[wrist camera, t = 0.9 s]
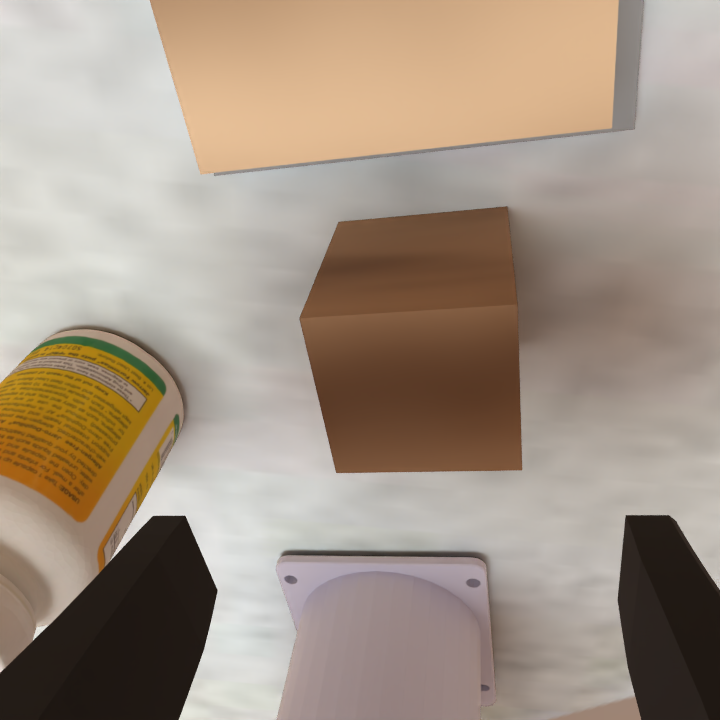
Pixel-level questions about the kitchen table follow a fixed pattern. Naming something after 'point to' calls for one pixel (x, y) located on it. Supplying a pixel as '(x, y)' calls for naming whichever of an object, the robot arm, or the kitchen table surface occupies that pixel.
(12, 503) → the supplement bottle
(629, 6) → the baseplate
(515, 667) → the kitchen table surface
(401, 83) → the oak brick
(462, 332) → the walnut block
